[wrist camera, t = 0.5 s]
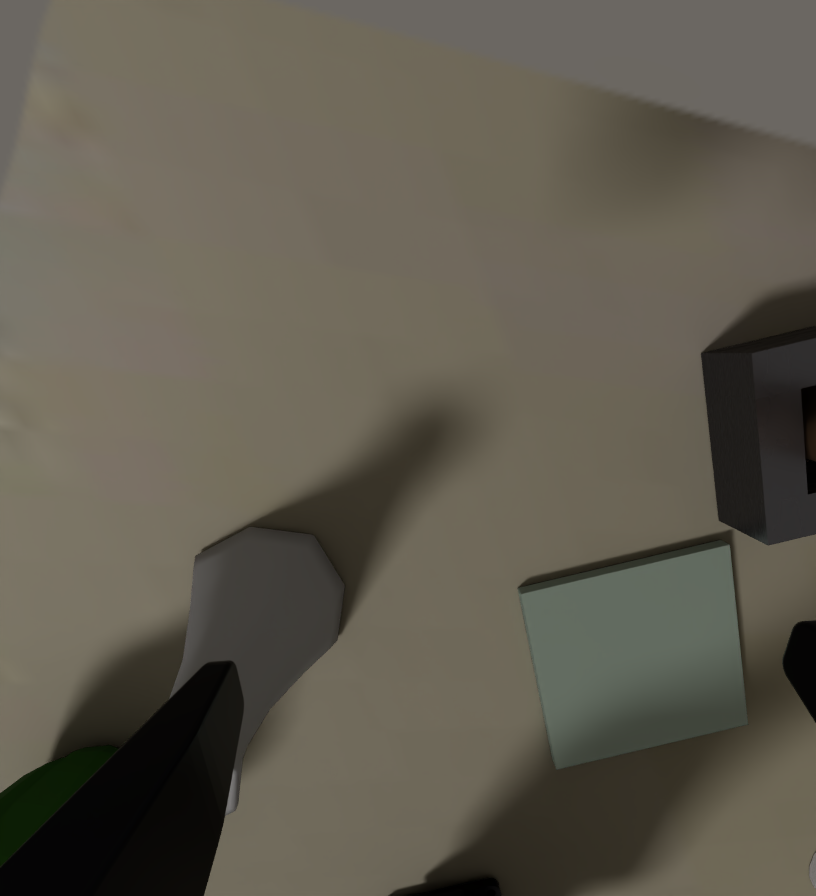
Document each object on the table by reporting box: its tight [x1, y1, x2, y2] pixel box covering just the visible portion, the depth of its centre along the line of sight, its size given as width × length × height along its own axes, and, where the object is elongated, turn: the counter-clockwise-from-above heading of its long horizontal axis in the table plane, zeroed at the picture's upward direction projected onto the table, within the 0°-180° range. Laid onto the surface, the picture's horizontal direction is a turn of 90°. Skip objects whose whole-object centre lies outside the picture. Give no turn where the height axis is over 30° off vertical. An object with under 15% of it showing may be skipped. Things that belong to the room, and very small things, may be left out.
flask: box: [169, 527, 345, 815], centre depth 18 cm, size 7×7×10 cm
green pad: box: [518, 540, 748, 770], centre depth 24 cm, size 10×10×1 cm
